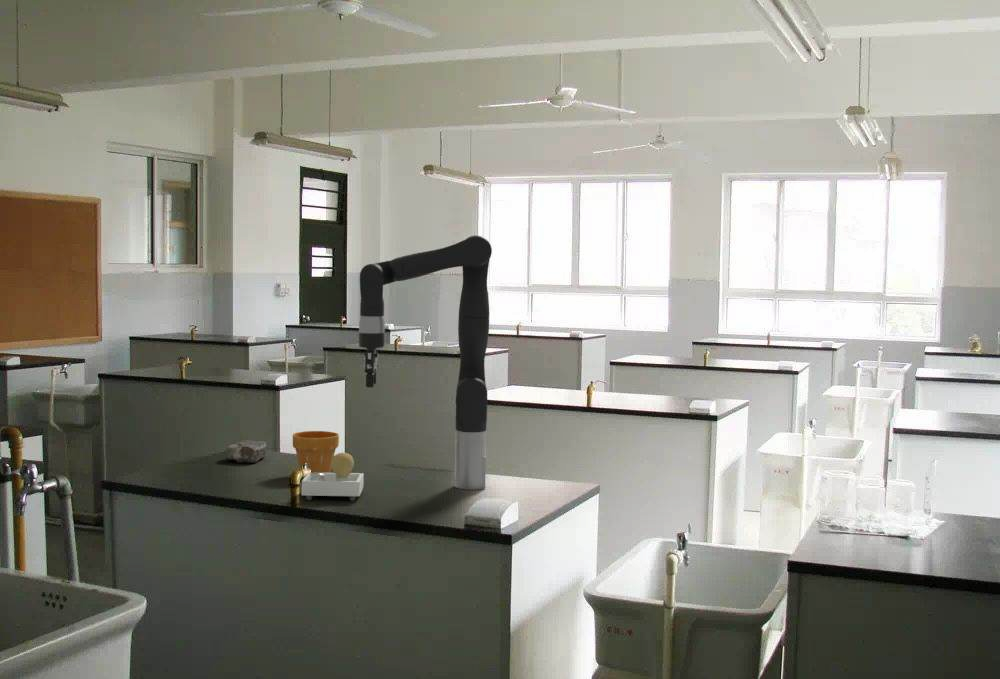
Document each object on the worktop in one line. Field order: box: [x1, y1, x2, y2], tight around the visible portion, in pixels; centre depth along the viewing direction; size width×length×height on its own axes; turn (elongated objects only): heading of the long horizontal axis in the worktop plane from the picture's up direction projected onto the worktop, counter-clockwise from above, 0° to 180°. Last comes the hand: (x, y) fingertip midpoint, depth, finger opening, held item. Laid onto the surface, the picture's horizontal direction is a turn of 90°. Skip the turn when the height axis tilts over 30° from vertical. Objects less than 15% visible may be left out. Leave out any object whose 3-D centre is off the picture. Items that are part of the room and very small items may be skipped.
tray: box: [301, 472, 365, 502], centre depth 284 cm, size 16×12×6 cm
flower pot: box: [292, 430, 340, 473], centre depth 312 cm, size 14×14×13 cm
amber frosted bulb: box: [331, 452, 355, 481], centre depth 285 cm, size 6×6×10 cm
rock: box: [224, 438, 268, 464], centre depth 335 cm, size 13×6×15 cm
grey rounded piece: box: [310, 472, 325, 481], centre depth 284 cm, size 4×4×4 cm
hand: (371, 385), depth 298 cm, fingers open, 8 cm apart
